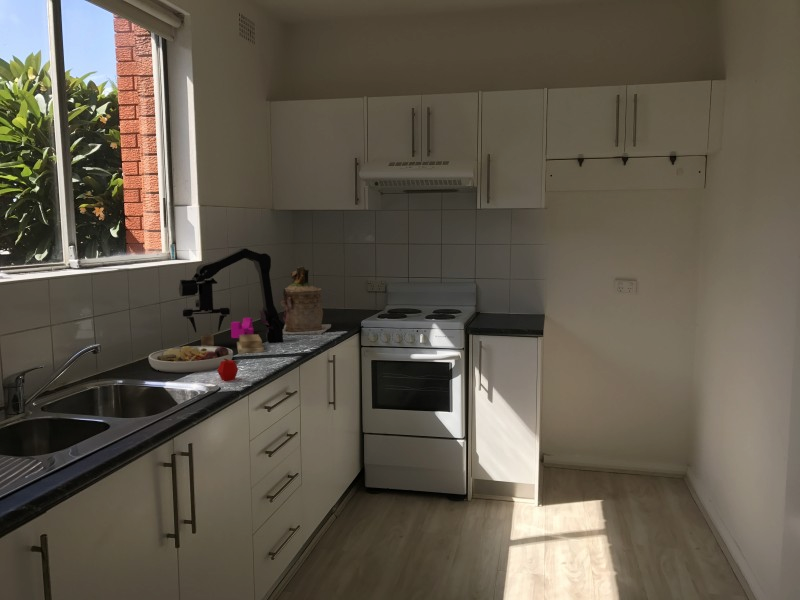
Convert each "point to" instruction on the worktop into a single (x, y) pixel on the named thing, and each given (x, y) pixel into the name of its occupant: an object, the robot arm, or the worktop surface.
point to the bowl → (189, 358)
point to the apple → (227, 370)
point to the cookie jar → (303, 306)
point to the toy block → (241, 328)
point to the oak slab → (250, 341)
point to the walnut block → (207, 340)
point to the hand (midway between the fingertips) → (207, 331)
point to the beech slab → (249, 349)
